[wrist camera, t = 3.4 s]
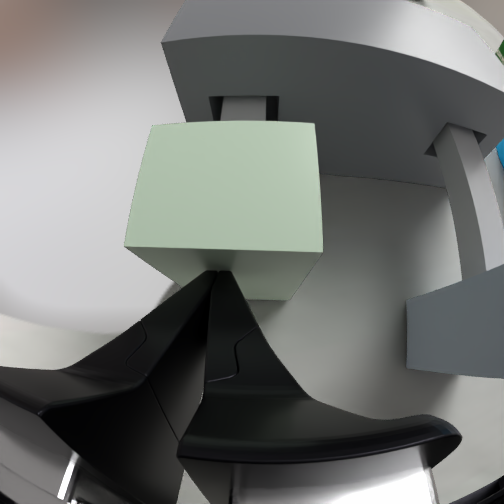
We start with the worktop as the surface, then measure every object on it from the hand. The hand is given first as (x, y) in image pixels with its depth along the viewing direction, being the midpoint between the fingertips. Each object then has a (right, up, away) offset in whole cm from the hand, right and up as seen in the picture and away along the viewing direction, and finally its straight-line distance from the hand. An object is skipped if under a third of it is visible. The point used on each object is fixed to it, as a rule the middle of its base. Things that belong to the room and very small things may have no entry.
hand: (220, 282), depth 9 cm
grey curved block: (+7, +10, +9) cm, 15 cm away
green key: (+1, +5, +8) cm, 10 cm away
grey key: (+13, +2, +7) cm, 14 cm away
